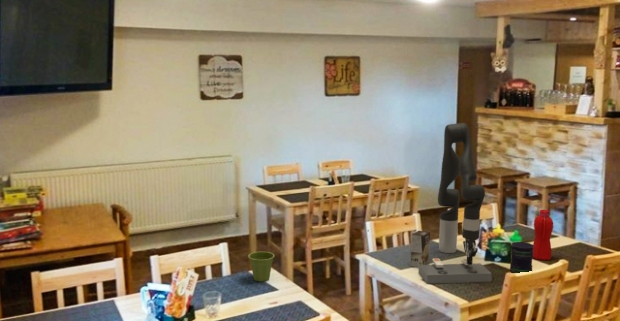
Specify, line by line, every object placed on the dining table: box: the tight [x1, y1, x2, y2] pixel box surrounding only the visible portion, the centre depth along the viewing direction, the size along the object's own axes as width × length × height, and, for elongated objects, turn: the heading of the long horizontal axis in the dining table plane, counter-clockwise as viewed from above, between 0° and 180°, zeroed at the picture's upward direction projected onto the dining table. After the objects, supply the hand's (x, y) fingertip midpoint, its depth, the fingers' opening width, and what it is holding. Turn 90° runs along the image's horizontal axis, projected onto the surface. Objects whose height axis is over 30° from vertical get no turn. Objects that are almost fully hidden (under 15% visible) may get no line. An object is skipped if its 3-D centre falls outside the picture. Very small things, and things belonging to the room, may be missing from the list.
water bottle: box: [532, 209, 554, 261], centre depth 308 cm, size 9×11×25 cm
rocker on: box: [460, 258, 474, 265], centre depth 285 cm, size 7×3×1 cm, turn 6°
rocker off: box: [432, 258, 444, 268], centre depth 283 cm, size 7×3×1 cm, turn 6°
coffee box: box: [409, 230, 431, 268], centre depth 298 cm, size 9×6×16 cm
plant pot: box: [247, 251, 275, 282], centre depth 276 cm, size 12×12×11 cm
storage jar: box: [509, 241, 534, 273], centre depth 283 cm, size 10×10×15 cm
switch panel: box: [418, 262, 493, 285], centre depth 281 cm, size 14×30×4 cm, turn 96°
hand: (469, 264), depth 281 cm, fingers closed
